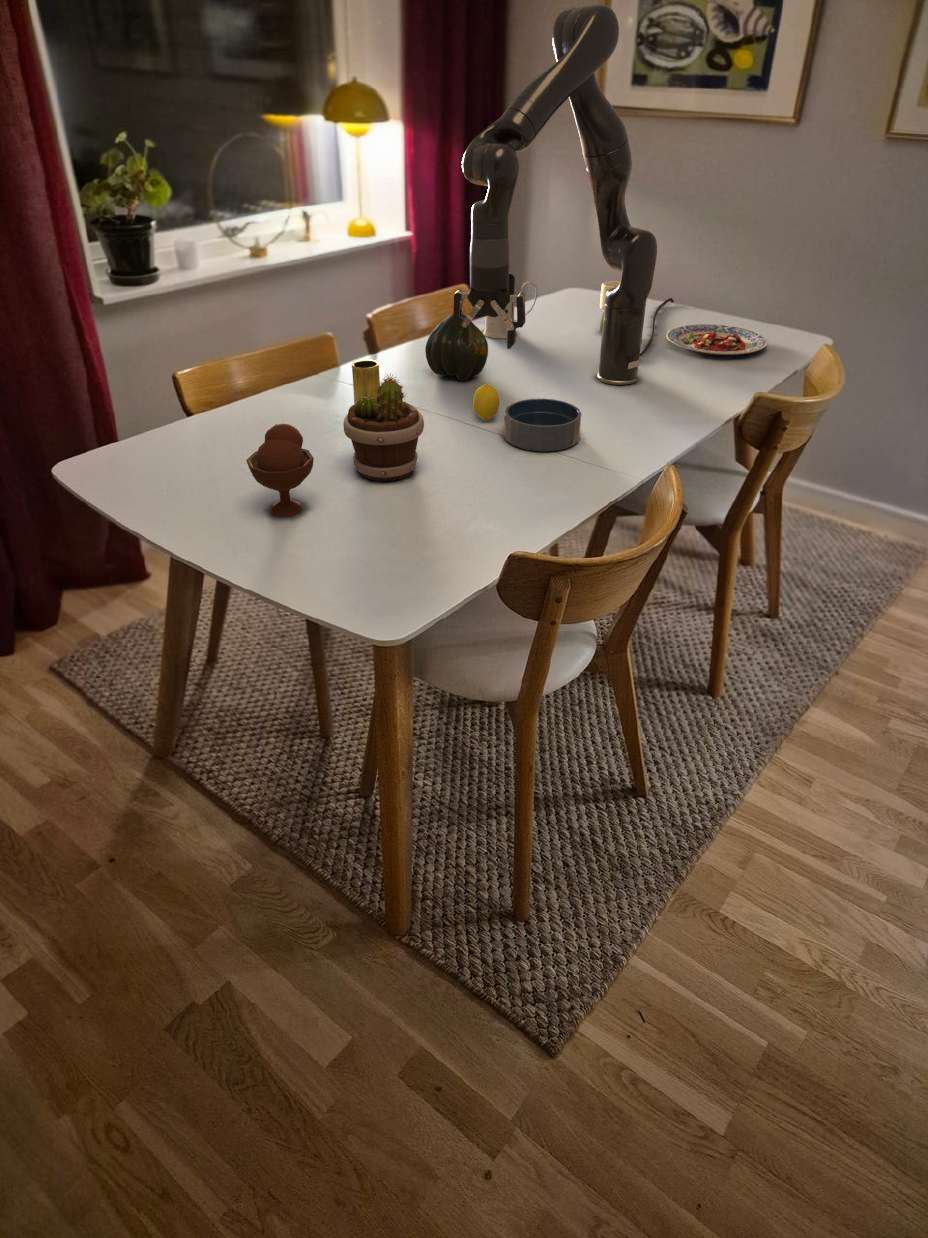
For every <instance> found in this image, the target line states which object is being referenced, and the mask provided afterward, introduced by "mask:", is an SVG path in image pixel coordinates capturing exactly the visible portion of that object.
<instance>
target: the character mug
mask: <svg viewBox="0 0 928 1238" xmlns="http://www.w3.org/2000/svg"><path fill="white" fill-rule="evenodd" d="M619 284H620V280H619V281H617V280H609V281H604V282H602V283H601V290H600V299H599V300H600V301H599V308H600V309H601V310H603V312H602V315H601V319H600V325H599V330H598V332H600V333H602V329H603V319H604V308H605V297H606V292H607V291H608V290H609V289H611V288H614V287H618V286H619Z"/></svg>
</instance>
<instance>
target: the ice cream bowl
mask: <svg viewBox="0 0 928 1238" xmlns="http://www.w3.org/2000/svg"><path fill="white" fill-rule="evenodd" d="M303 443H304V436H303V435H302V434H301V432H300V430H299V429H297V428H296V427H295V426H293V425H291V424H289V423H276V424H274V425H273V426H271V427H270V428H269V429H267V430H266V432H265V434H264V442H262V443H261V444H260V445H259V447H258V448H257V451H254V452H253V453H252V454H251V455H250V456H249V457H248V458H247V459H245V461H246V464H247V466H248V469H249V471H250V474H251V475H252V477H253V478H254V480H255V481H256V483H258V484H259V485H261V486H263V487H265V488H267V489H270V490H273V491H276V492H278V493H279V500H278V501H276V502H274V503H273V505H271V507H270V513H271V515H272V516H276V517H279V518H290V517H294V516H297V515H299V514H301V512H302V511H303V509H304V508H303V506H302V504H301V502H299V501H297V500H294V499H291V490H293V489H296V488H297V487H298V486H300V485H301V484H302V483H303V482H304V481H305V479H306V478H307V477H308V476H309V475H310V474H311V472H312V470H313V467H314V461H315V459H314V458H315V457H314V456H313V454H312V453H311V451H310V450H309V449H305V448H302V447H303Z"/></svg>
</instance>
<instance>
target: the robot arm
mask: <svg viewBox="0 0 928 1238" xmlns="http://www.w3.org/2000/svg"><path fill="white" fill-rule="evenodd" d="M619 36H620V25H619V19H618V17H617V15H616V13H615V11H614V10H613V9H612V8H611V7H610V6H608V5H606V4H590V5H582V6H576V7H570V8H566V9H563V10H561V11H560V12H558V14H557V16H556V18H555V20H554V23H553V27H552V46H553V47H552V48H553V51H554V56H555V59H556V60H555V61H556V62H555V63H554V64H552V65H551V66H550V67H549V68H547V70H545V71H544V72H543V73H540V74H539V75H538V76H537V77H536V78H534V79H532V81H531V82H529V83H528V84H527V85H526V86H524V88H523V89H522V90H521V91H520V92H519V93H518V94H517V95H516V96H515V97H514V99H513V100H512V101H511V103H510V104H509V105H508V106H507V108H506V109H505V111H504V112H503V114H502V115H501V117H499V118H498V119H497V120H495V121H494V122H492V123H491V124H490V125H489V126H487V127H486V128H485V129H484V130H482V132H480V133H479V134H477V135H476V137H475V138H473V139H472V141H471V142H470V143H469V144H468V146H467V147H466V149H465V150H464V151H465V152H464V154H463V157H462V161H461V164H462V165H461V168H462V173H463V175H464V177H465V179H466V180H467V181H468V182H469V183H470V184H471V183H472V184H474V185H476V186H477V185H478V186H484V187H488V189H487V193H486V196H485V199H481V200H478V201H476V202H474V203H473V205H472V207H471V213H470V220H471V221H470V222H471V223H470V227H471V231H470V235H471V237H470V238H471V239H470V246H469V292H467V291H463V290H462V289H458V290H457V291H456V292H455V293H454V295H453V308H452V309H453V311H452V314H453V322H454V323H455V324H459V325H461V326H462V328H463V342H464V343H466V346H470V345H471V325H470V322H471V321H472V322H473V320H474V319H475V317H476V316H477V315H478V316H480V317H483V318H484V317H485V316H490V317H496V316H499V317H500V318H501V320H502V321H503V322H504V323H505V324H506V326H507V327H508V328H509V329H508V330H507V338H506V341H507V342H506V349H509V350H511V349H512V348H513V347H514V346H515V344H516V341H517V340H516V339H517V338H516V337H517V329H519V328H521V329H522V328H523V327H524V325H525V324H526V316H525V314H526V295H525V293H524V292H522V293H520V292H519V294H514V295H510V293H509V274H510V241H509V225H510V224H509V223H510V210H511V206H512V203H513V199H514V195H515V190H516V187H517V182H518V179H519V175H520V174H519V173H520V162H519V157H518V154H517V153H519V152H524V151H525V150H527V149H528V148H529V147H530V146H531V145H532V144H533V142H534V140H535V139H536V138H537V137H538V135H539V134H540V132H541V131H542V130H543V129H544V128H545V126H546V125H547V123H548V122H549V121H550V120H551V118H552V117H553V116H554V114H555V113H556V112H557V111H558V110H559V109H560V107H562V106H563V104H564V103H565V102H566V101H567V100H568V99H569V102H570V106H571V109H572V113H573V117H574V121H575V124H576V129H577V133H578V137H579V140H580V146H581V151H582V155H583V160H584V164H585V168H586V172H587V176H588V180H589V183H590V189H591V193H592V198H593V203H594V207H595V211H596V217H597V226H598V233H599V241H600V242H599V243H600V248H601V254H602V257H603V261H604V262H605V264H606V265H607V266H608V267H609V268H610V269H612V270H615V271H617V272H621V274H620V275H621V276H620V280H619V282H620V284H619V286H618V287H614V288H611V289H609V290H608V291H607V292H606V297H605V308H604V310H603V312H604V319H603V329H602V332H601V340H600V349H599V350H600V352H599V361H598V370H597V371H598V372H597V380H599V381H600V382H602V383H604V384H609V385H615V386H627V385H632V384H634V383H636V382H637V381H638V377H639V376H638V372H639V367H640V365H641V364H640V363H641V359H640V358H641V357H642V356H643V355H644V354H646V352H647V350H648V349H649V348H650V346H651V344H652V342H653V340H654V335H655V323H656V317H657V314H658V313H659V311H660V310H661V308H663V307H664V306H665V305H666V304H668V303H669V302H670V303H674V299H673V298H672V297H669V298H667V299H666V300H664V301H663V302H662V303H661V304H660V305H658V306H657V307H656V309H655V311H654V313H653V315H652V319H651V327H650V328H651V329H650V336H649V339H648V342H647V344H646V345H645V347H643V348H642V340H643V333H644V332H643V331H644V324H645V315H646V306H647V300H648V298H649V295H650V293H651V291H652V286H653V280H654V277H655V276H654V275H655V270H656V264H657V257H658V242H657V238H656V236H655V235H654V233H653V232H651V231H649V230H647V229H643V228H639V227H635V226H632V225H631V223H630V220H629V216H628V212H627V208H626V191H627V188H628V185H629V181H630V178H631V173H632V169H633V157H632V152H631V146H630V141H629V136H628V132H627V128H626V126H625V123H624V121H623V119H622V118H621V116H620V115H619V114H618V112H617V110H616V109H615V108H614V106H613V105H612V104H611V103H610V101H609V100H608V99H607V97H606V96H605V94H604V92H603V90H602V89H601V86H600V84H599V82H598V81H597V78H596V73H595V72H597V71H598V70H599V69H600V68H601V67H602V66H603V65H605V64H606V63H607V61H608V60H610V58H611V57H612V55H613V54H614V52H615V50H616V48H617V45H618V43H619ZM466 300H467V301H468V302H469V303H470V305H471V307H472V309H471V310H470V312H468V314H467V315H466V316H467V317H466V318H464V317H462V313H463V304H464V303H465V302H466ZM510 301H512V302H513V305H514V306H515V307H514V308H516V320H515V318H514V319H513V317H512V316H511V313H510V311H509V310H508V308H507V307H506V306H507V305H508V303H509V302H510ZM641 349H642V350H641Z"/></svg>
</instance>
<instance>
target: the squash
mask: <svg viewBox="0 0 928 1238" xmlns="http://www.w3.org/2000/svg"><path fill="white" fill-rule="evenodd" d="M467 316H468V315H467V314H465V313H463V312H462V317H464V318H466V317H467ZM470 325H471V345H470V346H466V343H464V342H463V328H462V326H461V325H459V324H455V323H454V322H453V313H451V314H450V315H448V316H447V317H446V318H444V319H442V320H441V322H439V323H438V324H437V325H436V326H435V327H434V329H432V331H431V333H430V334H429V336H428V338H427V341H426V344H425V348H424V349H425V351H424V352H425V358H426V361H427V364H428V367H429V368H430V369H431V371H432V372H433V373H434V374H435V375H438V376H442V377H446V376H450V377H454V376H455V377H456V378H457V379H458V380H460V381H466V380H468V379H469V378H474V377H477V376H478V375H480V374H481V372H482V371H483V369H485V366H486V364H487V359H488V355H489V344H488V343H489V342H488V340H487V338H486V336H485V335H484V334H483V333H484V332H482V330H481V329H480V328H479V327H478V326H477V325H476V324H475V323H474V322H473V320H472V321H471V322H470Z"/></svg>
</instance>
